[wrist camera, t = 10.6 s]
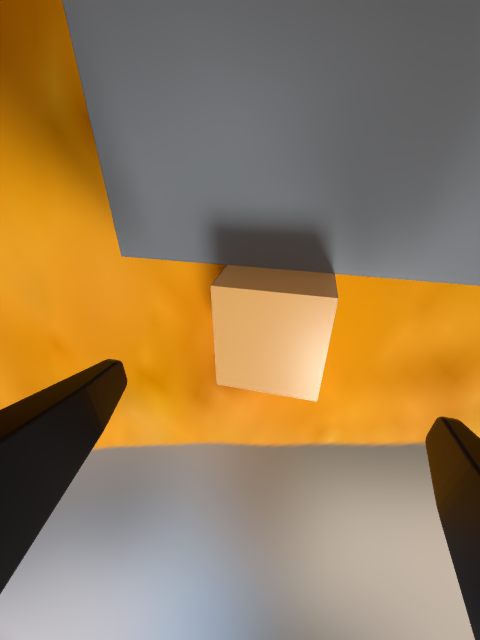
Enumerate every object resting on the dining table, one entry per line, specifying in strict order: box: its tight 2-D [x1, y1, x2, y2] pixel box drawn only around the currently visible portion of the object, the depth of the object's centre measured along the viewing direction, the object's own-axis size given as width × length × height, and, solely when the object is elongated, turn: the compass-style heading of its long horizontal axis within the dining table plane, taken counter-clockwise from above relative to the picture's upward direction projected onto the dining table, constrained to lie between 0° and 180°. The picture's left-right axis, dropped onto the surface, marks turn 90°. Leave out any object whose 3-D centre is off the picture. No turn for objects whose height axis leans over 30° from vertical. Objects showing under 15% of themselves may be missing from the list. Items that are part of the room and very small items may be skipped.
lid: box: [62, 0, 480, 402], centre depth 8 cm, size 13×17×3 cm
